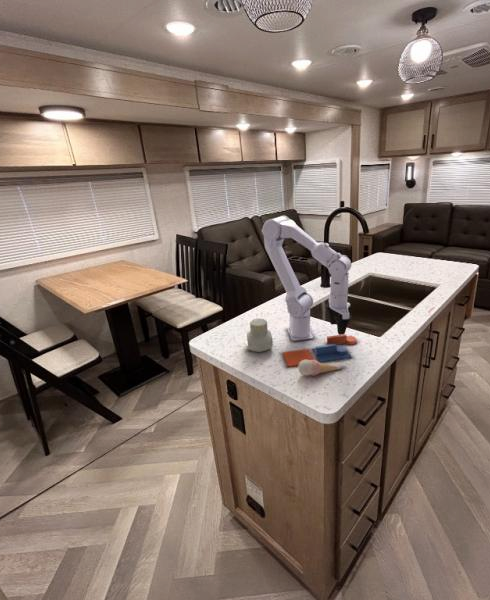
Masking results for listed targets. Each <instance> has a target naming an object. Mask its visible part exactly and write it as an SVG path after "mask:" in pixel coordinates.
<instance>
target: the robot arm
mask: <svg viewBox="0 0 490 600" xmlns="http://www.w3.org/2000/svg"><path fill="white" fill-rule="evenodd" d="M261 233H262V235H263V241H264V249H265V252H266V253H267V255H268V257H269V259H270V261H271V263H272V266H273V267H274V270H275V271H276V274H277V276H278V278H279V280H280V282H281V283H282V286H283V288H284V290H285V292H286V294H285V300H284V301H285V303H286V308H287V312H288V314H289V327H287V329H286V330H287V332H288V334H289V337H290V339H291V341H292V342H296V341H304V340H314V336H313V333H311V308H312V306H313V304H314V299H313V297H312V295H311V294H310V293H309V292H308V291H307V289H306V288H305V287H303V286H301V284H300V281H299V280H298V278H297V276H296V274H295V272H294V270H293V268H292V266H291V263H290V261H289V259H288V258H287V255H286V252H285V250H284V249H283V243H284V240H285V239H293V240H294V241H296V242H297V243H298V244H300V245H302V247H304V248H306V249H307V250H309V251H310V254H311V256H312V258H313V259H315V260H316V261H318V262H319V263H320V264H321V265H323V266H324V267H326V268H327V270H328V274H330V292H329V293H330V295H329V296H328V304H325V308H326V311H327V313H328V318H329V323H330V325H336V329H337V335H343V334H346V331H347V328H348V325H349V324H350V323H351V321H352V320H353V316H352V315H351V314H350V312H349V308H350V307H351V303H350V302H348V298H349V297H348V295H349V275H350V274H349V271H350V270H351V268H352V261H351V259H350V258H349V257H348V255H345V254H341V253H340V252H337V251H336V250H334V249H332V248H331V247H330V244H329V243H328V242H323V241H321V242H318V241H316V239H314V238H313V237H311V235H310V234H308V233H307V232H306V231H304V230H303V229H302V228H301V227H300V226H298V225H297V224H296V221H294V220H293V219H290V217H289V216H286V215H280V216H278V217H274V218H269V219H267V220H266V221H265V222H264V223H263V226H262V228H261Z"/></svg>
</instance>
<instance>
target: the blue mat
mask: <svg viewBox="0 0 490 600" xmlns="http://www.w3.org/2000/svg"><path fill="white" fill-rule="evenodd" d="M336 345H337V346H339V345H340V344H336ZM341 345H342V346H344V344H341ZM315 349H316V347H314V348H312V352H313V353H314V355H315V357H316V360H317V361H318V362H320V363H326V362H327V363H328V362H332V361H340V360H347V359H352V355H351V354H350V353H349V351H348V350H347V353H346V354H342V355H341V354H337V353H332V354H325V355H318V356H316V354H315Z"/></svg>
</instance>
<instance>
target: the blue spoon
mask: <svg viewBox="0 0 490 600" xmlns="http://www.w3.org/2000/svg"><path fill="white" fill-rule="evenodd" d="M337 345H339V346H337ZM342 345H343V344H329V345H327V344H323V345H321V344H320V345H315V348H316V349H315V353H314V355H315V354H316V355H315V357H316V356H318V355H325V354H332V353H337V354H341V355H342V354H346V353H347V351H348V348H347V346H345V345H343V346H342Z"/></svg>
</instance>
